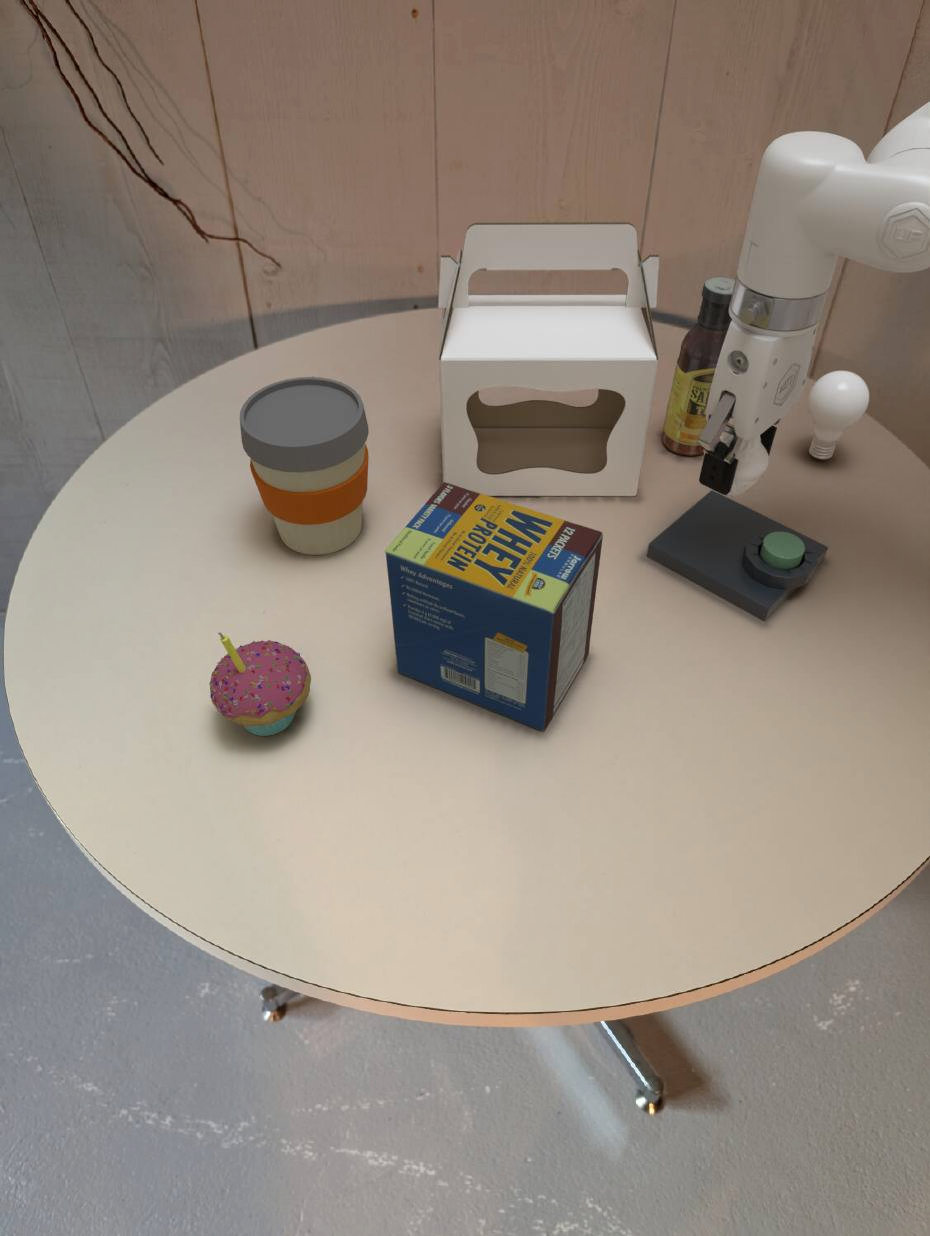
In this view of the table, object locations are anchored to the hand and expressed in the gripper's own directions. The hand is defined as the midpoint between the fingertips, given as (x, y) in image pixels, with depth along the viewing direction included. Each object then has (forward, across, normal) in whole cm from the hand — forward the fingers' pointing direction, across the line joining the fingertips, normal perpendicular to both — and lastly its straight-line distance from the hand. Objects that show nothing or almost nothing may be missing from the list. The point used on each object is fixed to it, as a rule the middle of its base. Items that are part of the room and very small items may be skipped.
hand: (733, 470), depth 89 cm
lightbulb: (+10, +22, 0) cm, 24 cm away
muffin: (+2, 0, 0) cm, 2 cm away
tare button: (+7, 0, -7) cm, 10 cm away
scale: (+10, 0, -2) cm, 11 cm away
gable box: (+10, -1, +24) cm, 26 cm away
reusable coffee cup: (+10, -26, +34) cm, 44 cm away
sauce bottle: (+10, +14, +12) cm, 21 cm away
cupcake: (+10, -46, +18) cm, 50 cm away
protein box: (+10, -28, +6) cm, 31 cm away
